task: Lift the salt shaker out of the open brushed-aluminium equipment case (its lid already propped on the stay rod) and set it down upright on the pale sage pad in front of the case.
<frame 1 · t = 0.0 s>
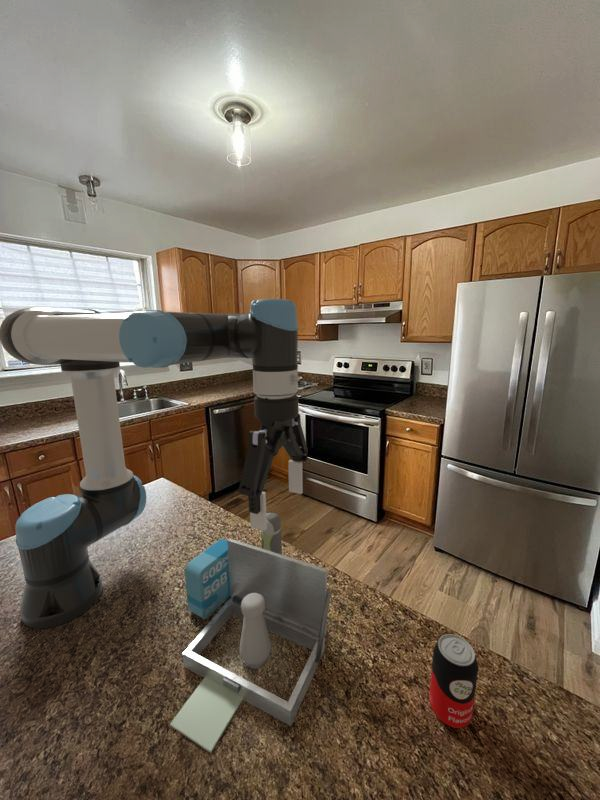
hand: (279, 508, 62), 28 cm above the countertop, fingers open, 13 cm apart
data package: (215, 600, 77), on the countertop
beverage can: (449, 710, 55), on the countertop
salt shaker: (255, 659, 63), resting in case
pad: (207, 712, 54), on the countertop
case: (255, 658, 63), on the countertop
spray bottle: (273, 594, 79), on the countertop
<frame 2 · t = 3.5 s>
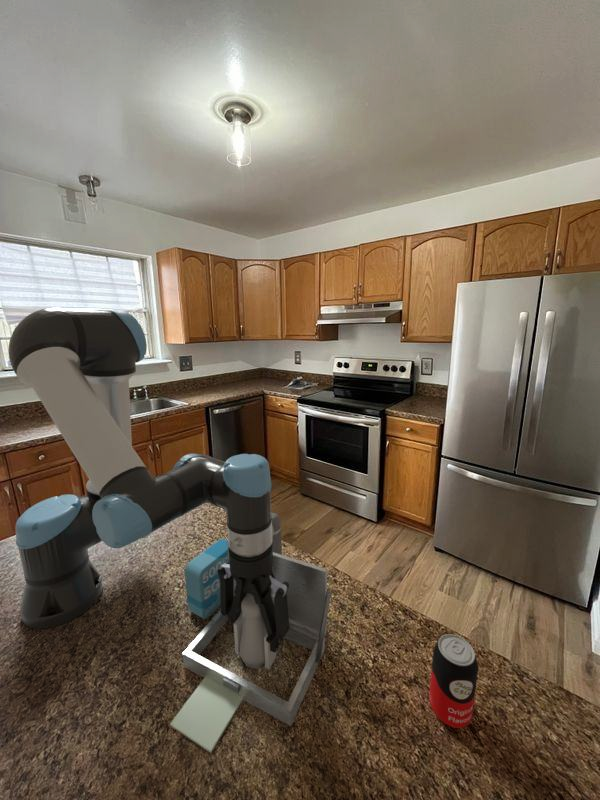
hand: (255, 654, 63), 1 cm above the countertop, fingers closed on salt shaker, 6 cm apart
salt shaker: (255, 659, 63), resting in case, touching gripper
everything else where it was.
when the fingers open (2 cm above the countertop, at t = 9.3 s): salt shaker stays where it is, resting on pad.
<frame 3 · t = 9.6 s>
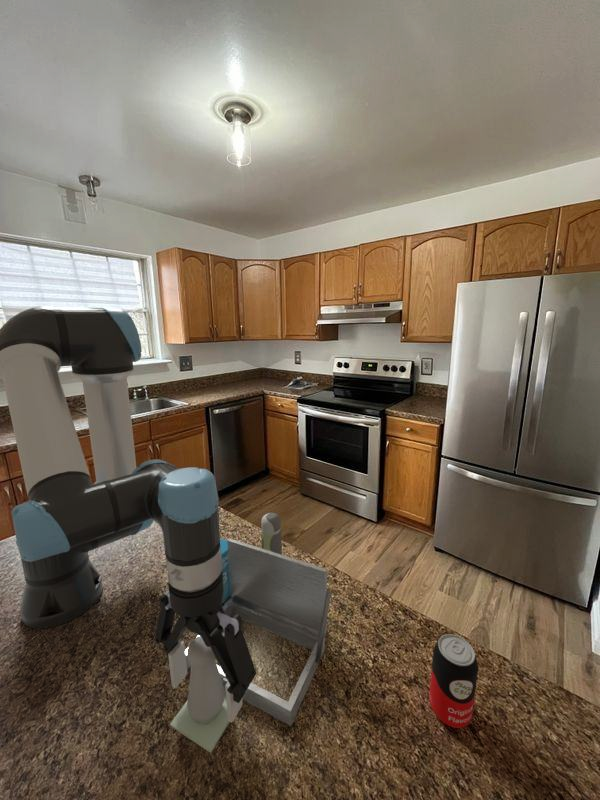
hand: (206, 695, 54), 3 cm above the countertop, fingers open, 10 cm apart
salt shaker: (207, 710, 55), resting on pad
everything else where it was.
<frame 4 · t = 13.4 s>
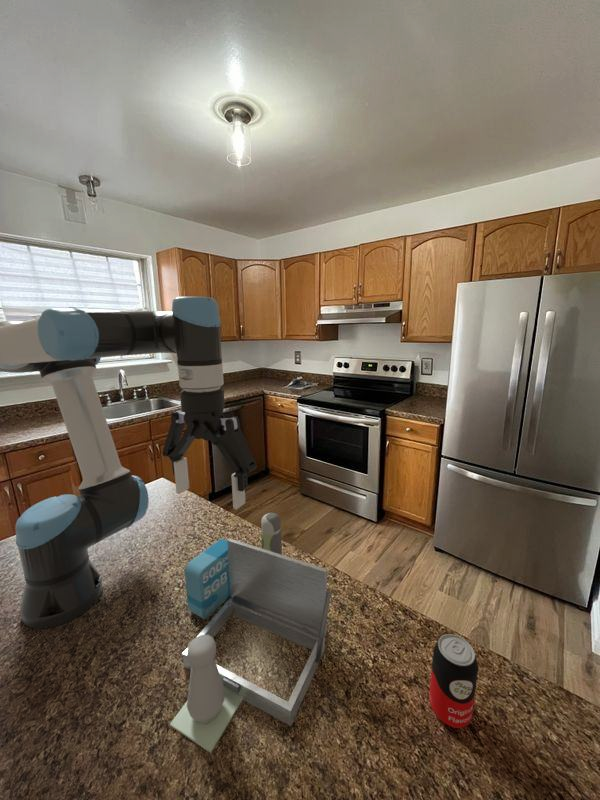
hand: (210, 498, 65), 29 cm above the countertop, fingers open, 13 cm apart
nothing on the countertop moved.
at the end: salt shaker inside the target area (0.1 cm from its centre), resting on pad; salt shaker tilted 0°; the gripper is holding nothing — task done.
